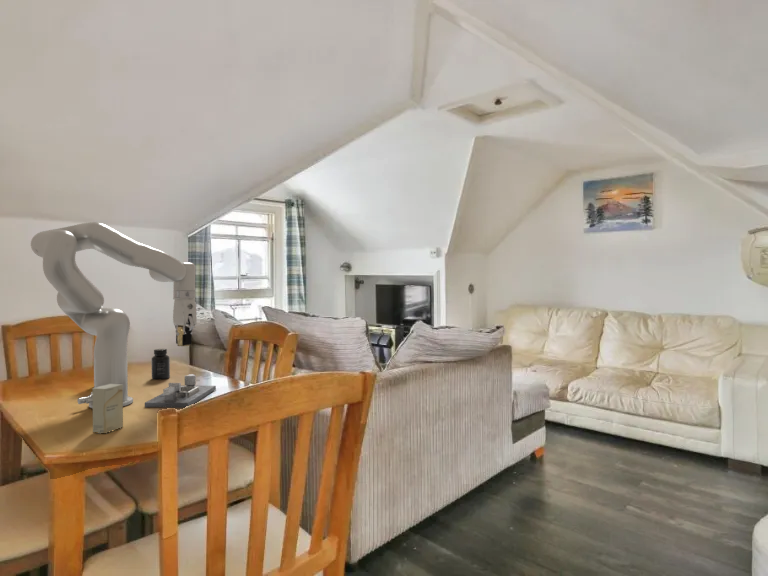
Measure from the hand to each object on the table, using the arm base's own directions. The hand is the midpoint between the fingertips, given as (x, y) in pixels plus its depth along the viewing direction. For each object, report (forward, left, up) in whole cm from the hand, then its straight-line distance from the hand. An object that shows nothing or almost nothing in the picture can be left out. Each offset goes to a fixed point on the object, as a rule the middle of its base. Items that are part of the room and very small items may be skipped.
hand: (183, 343), depth 177 cm
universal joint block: (0, 0, -1) cm, 1 cm away
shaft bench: (-8, -12, -17) cm, 22 cm away
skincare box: (-40, -26, -17) cm, 51 cm away
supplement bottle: (+6, +24, -17) cm, 30 cm away
